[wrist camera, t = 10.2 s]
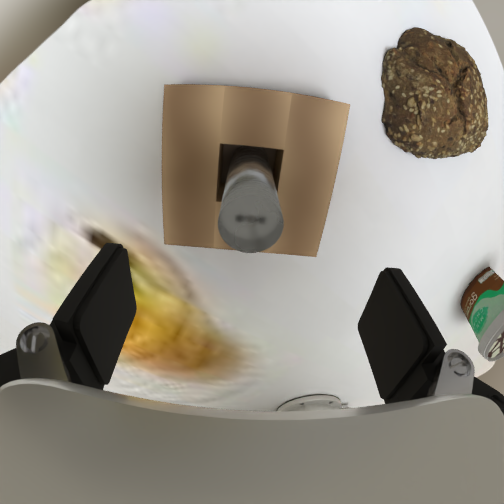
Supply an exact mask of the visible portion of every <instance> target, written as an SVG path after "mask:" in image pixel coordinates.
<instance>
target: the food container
mask: <svg viewBox="0 0 504 504" xmlns="http://www.w3.org/2000/svg"><path fill="white" fill-rule="evenodd" d="M461 307H462V310H463V312H464V313H465V315H466V317H467V319H468V321H469V323H470V325H471V327H472V329H473V331H474V333H475V335H476V337H477V339H478V341H479V346H478V351H479V353H480V354H481V355H482V356H483V357H484V358H485V359H487V360H488V361H495V360H498V359H500V358H502V357H503V356H504V353H503V349H504V281H503V280H502V279H501V278H500V277H499V276H498V275H497V274H496V273H495V272H494V271H493V270H492V269H491V268H490V267H488V268H486V269H484V270H483V271H482V272H481V273H479V274H478V275H477V276H476V277H475V278H474V279H473V281H472V282H471V283H470V284H469V286H468V287H467V289H466V290H465V292H464V294H463V297H462V300H461Z"/></svg>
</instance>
